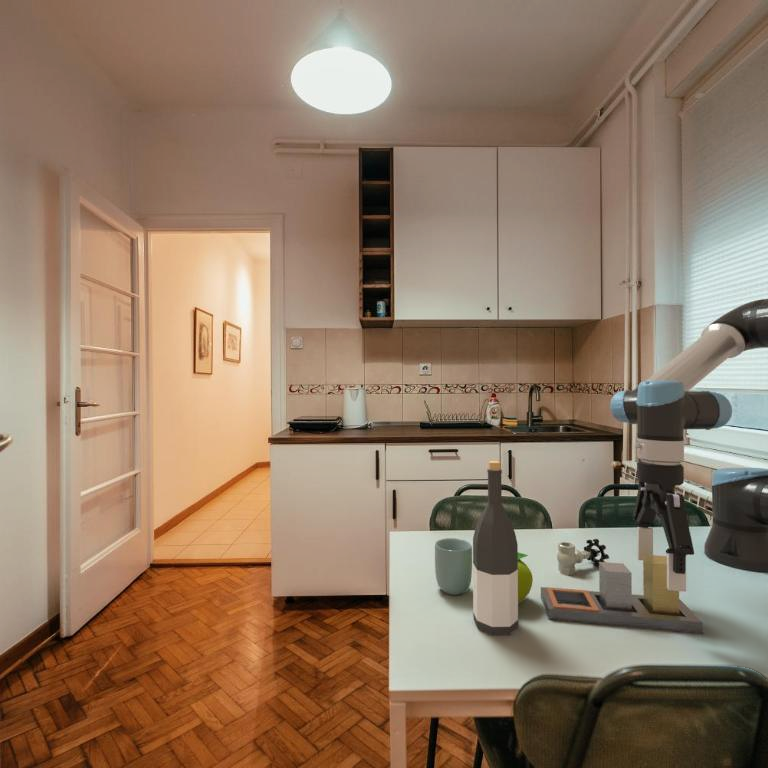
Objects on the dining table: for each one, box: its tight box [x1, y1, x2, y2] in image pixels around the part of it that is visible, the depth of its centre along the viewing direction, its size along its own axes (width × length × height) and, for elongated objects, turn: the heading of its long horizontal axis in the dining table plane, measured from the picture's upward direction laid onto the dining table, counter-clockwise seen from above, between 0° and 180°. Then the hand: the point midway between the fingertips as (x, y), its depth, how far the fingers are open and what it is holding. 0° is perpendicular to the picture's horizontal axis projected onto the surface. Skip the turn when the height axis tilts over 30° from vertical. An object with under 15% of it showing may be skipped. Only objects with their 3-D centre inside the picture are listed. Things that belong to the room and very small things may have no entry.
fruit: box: [518, 552, 533, 605], centre depth 89 cm, size 9×9×10 cm
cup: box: [434, 537, 473, 596], centre depth 94 cm, size 8×8×10 cm
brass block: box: [642, 554, 680, 616], centre depth 82 cm, size 4×4×11 cm
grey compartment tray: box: [540, 586, 704, 634], centre depth 84 cm, size 26×9×2 cm, turn 79°
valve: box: [556, 538, 610, 576], centre depth 104 cm, size 7×7×12 cm
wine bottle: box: [472, 460, 519, 636], centre depth 80 cm, size 8×8×30 cm
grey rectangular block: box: [598, 561, 633, 612], centre depth 84 cm, size 4×4×9 cm
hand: (659, 574), depth 82 cm, fingers open, 13 cm apart
